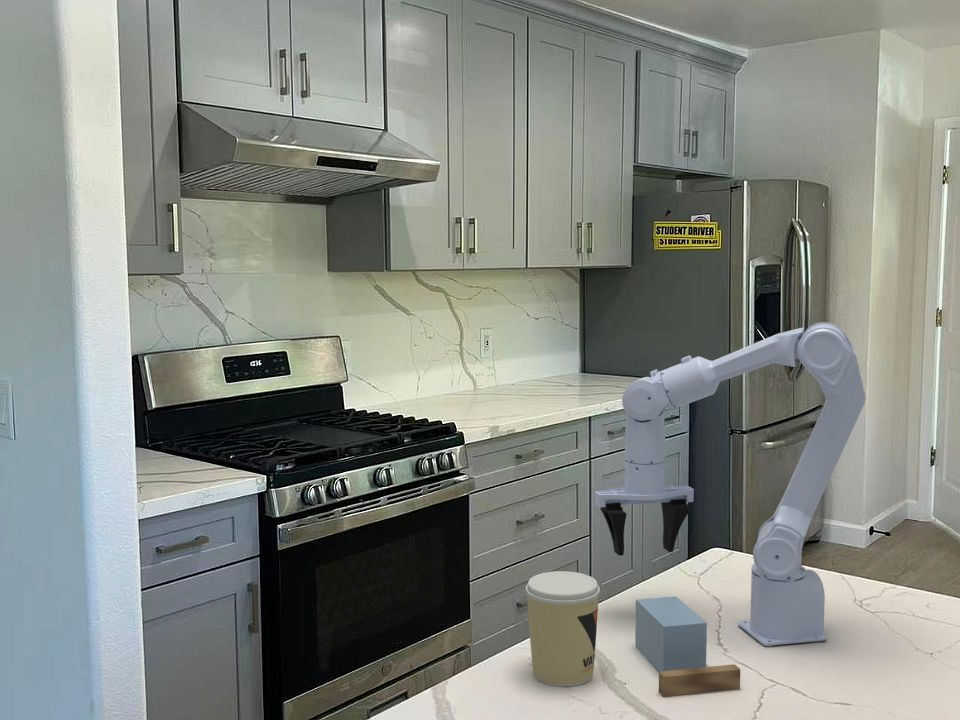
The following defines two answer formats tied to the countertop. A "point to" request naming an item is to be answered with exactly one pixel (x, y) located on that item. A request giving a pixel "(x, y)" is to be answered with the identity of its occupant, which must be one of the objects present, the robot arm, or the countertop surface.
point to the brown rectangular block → (699, 680)
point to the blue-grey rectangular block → (670, 634)
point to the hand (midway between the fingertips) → (643, 551)
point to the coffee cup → (562, 626)
